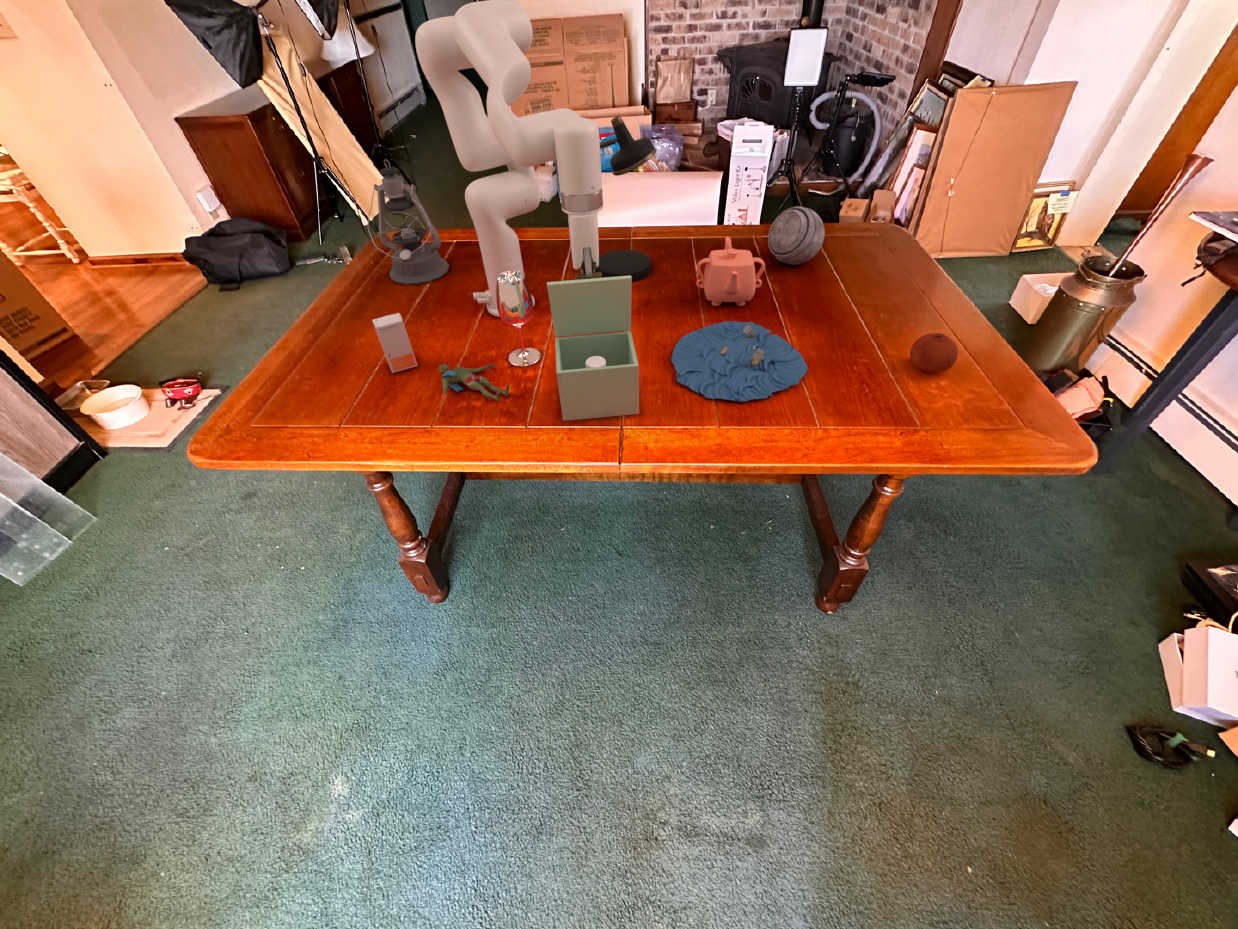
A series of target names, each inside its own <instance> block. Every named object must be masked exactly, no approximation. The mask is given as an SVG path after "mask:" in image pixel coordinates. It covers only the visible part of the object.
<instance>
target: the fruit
mask: <svg viewBox="0 0 1238 929" xmlns="http://www.w3.org/2000/svg"><path fill="white" fill-rule="evenodd" d="M958 348H959V347H958V345H957V344H956V342H955V341H953V339H952V338H951V337H949V336H948V335H946V334H944V333H942V332H932V333H927V334H924V335H921V336H920V337H918V338H917V339H916V340H915V341H914V342H913V343H912V345H911V347H910V350H909V357H910V360H911V362H912V364H913V365H914V366H915V367H916V368H917V369H919V370H921V371H923V372H926V373H931V374H933V373H941V372H944V371H948V370H949V369H951V368H952V367H953V366H954V365H955V364H956V362H957V359H958V355H959V349H958Z"/></svg>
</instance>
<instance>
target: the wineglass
mask: <svg viewBox="0 0 1238 929" xmlns="http://www.w3.org/2000/svg"><path fill="white" fill-rule="evenodd" d="M524 276H525V275H524ZM524 276H523V274H522V273H521V272H519V271H505V272H502V273H500V274H499V275H498V276H497V286H496V300H497V310H498V313H499V316H500V317H499V318H500V319H501V320H502V321H503V322H504V323H505V324H507V325H509V326H511V327H515V328H516V330H517V332H518V337H519V343H520V348H517V349H515V350H513V351H511V353H510V354H509V355H508V357H507V358H508V362H509V364H510V365H513V366H515V367H529V366H532V365H535V364H536V363H538V362H539V361H540V359H541V357H542V355H541V352H540V351H539V350H538V349H536V348H534V347H525V344H524V338H523V329H522V328H523V326H526V325H527V324H528V323H529V322H530V321H531V320H532V317H533V316H534V311H535V308H534V307H535V305H534V306H533V300H532V297H531V295H532V293H531V291H530V288H529V286H528V282H527V281H526V277H525V278H524Z"/></svg>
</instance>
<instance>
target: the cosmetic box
mask: <svg viewBox="0 0 1238 929" xmlns="http://www.w3.org/2000/svg"><path fill="white" fill-rule="evenodd" d="M371 321H372V324H373V327H374V330H375V332H376V335H377V338H378V340H379V342H380V345H381V348H382V350H383V353H384V356H385V359H386V361H387V363H388V366H389V369H390V371H391V373H392V374H395V373H398V372H399V373H400V372H402V371H406V370H409V369H412V368H413V369H414V368H417V367H419V365H418V362H417V360H416V356H415V353H414V350H413V347H412V343H411V341H410V338H409V335H408V332H407V329H406V325H405V322H404V320H403V318H402V315H401V313H400V312H397V313H392V314H388V315H384V316H381V317H377V318H374V319H372V320H371Z"/></svg>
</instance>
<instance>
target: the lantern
mask: <svg viewBox="0 0 1238 929" xmlns="http://www.w3.org/2000/svg"><path fill="white" fill-rule="evenodd" d="M385 161H386V162H387V163H388V165H389V166H388V165H387V164H386V162H385ZM385 161H383V163H384V166H385V167H384V168H382V169H381V170H380V172H379V175H381V176H384V177H383V178H382V179H381V184H379V185H377V184H376V183H374V184H373V190H372V195H371V203H370V209H369V213H368V217H367V231H368V234H369V237H370V239H371V241H372V243H373V244H372V245H373V246H374V247H375V248H376V250H378V251H380V252H382V253H383V254H385V255H387V256H388V257H391V264H392V268H391V269H390V271H389V273H388V276H389V278H390V280H391V281H394V282H395V283H397V284H399V285H405V286H407V285H410V286H411V285H422V284H427V283H431V282H433V281H435V280H438V279H440V278H441V277H443V276H444V275H446V274H447V273H448V270H449V268H450V264H449V263H448V261H447V260H446V259H445V258H442V257H441V255H440V253H439V251H438V249H439V248H440V247H441V246H442V245H441V244H442V240H441V237H440V235H439V233H438V231H437V230H436V229H437V228H436V227H435V225H434V224H433V222H432V220H431V218H430V217H429V214H428V213H427V211H426V209H425V208H424V205H423V204H422V203H421V201H420V199H419V197H418V195H417V193H416V190H417V187H416V185H414V184H411V185H409V184H407V183H404V178H403V177H402V176H401V175H398V173H400V169H399V168H397V167H396V166H391V164H390V161H388V159H385ZM375 191H377V203H378V204H377V209H378V210H377V211H378V230H379V232H377V234H378V235H379V238H380V241H381V242H382V244H383V245H384V246H385V247H387V248H388V249H390V250H392V251H394V252H393V253H392V255H390V254H388V253H387V252H386V251H384V250H382V249H380V248H378V246H377V245H376V244H375V242H374V239H373V236H372V234H371V231H370V229H369V228H370V227H369V223H370V215H371V211H372V207H373V200H374V196H375V195H374V194H375ZM407 195H409V197H407ZM386 198H387V199H388V200H387V201H386ZM414 207H415V208H416V210H417V212H416V214H419V216H420V217H421V219H422V220H423V222H424V224H425V226H426V228H425V226H424V225H423V223H422V222H421V220H420V219H419V218H418V217H415V216H413V215H412V214H414V212H411V213H410V214H409V213H408V212H404V211H408V210H411V209H412V208H414ZM387 212H389V213H388V215H389V214H394V213H396V212H399V213H402V214H406V215H407V216H405V219H404V221H403V223H402V229H401V228H397V227H395V226H391V225H390V224H389V222H388V221H387ZM409 216H410V217H412V218H414V219H413V221H411V223H410V224H409V225H405V226H404V224H405V222H406V219H407V218H408V217H409ZM415 220H417V221H418V222H420V225H421V226H422V227H412V226H411V225H413V223H414V221H415ZM387 225H388V226H389V227H391V228H393V229H396V230H400V231H397V232H394V234H393V235H392V236H391V239H390V240H391V241H389V239H388V238H387V232H388V230H389V228H388V227H387ZM428 231H429V233H428ZM427 233H428V236H427V238H425V237H426V235H427ZM431 236H432V237H431ZM429 239H431V240H430V241H428V240H429ZM422 240H424V241H423V242H422ZM399 245H400V246H401V247H399Z"/></svg>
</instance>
